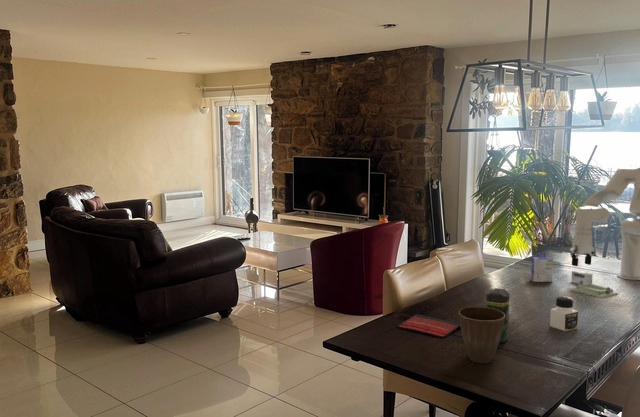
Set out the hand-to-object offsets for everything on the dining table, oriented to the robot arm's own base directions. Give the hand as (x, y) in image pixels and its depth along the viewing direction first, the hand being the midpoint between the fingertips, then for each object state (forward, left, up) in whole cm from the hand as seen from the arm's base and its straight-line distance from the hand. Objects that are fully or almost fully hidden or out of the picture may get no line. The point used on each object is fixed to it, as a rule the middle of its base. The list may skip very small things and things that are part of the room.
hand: (581, 264), depth 283 cm
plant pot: (+114, +51, -10) cm, 126 cm away
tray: (+8, +14, -10) cm, 19 cm away
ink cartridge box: (+12, -14, -10) cm, 21 cm away
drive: (-1, 0, -10) cm, 10 cm away
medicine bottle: (+63, +42, -10) cm, 77 cm away
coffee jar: (+95, +39, -10) cm, 103 cm away
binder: (+109, +17, -11) cm, 111 cm away
